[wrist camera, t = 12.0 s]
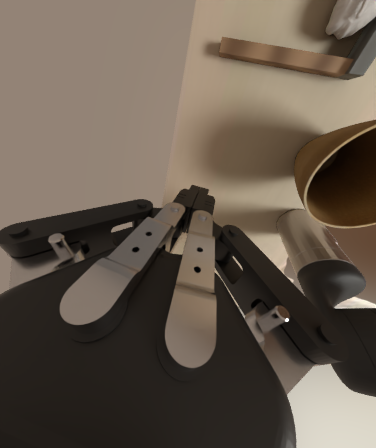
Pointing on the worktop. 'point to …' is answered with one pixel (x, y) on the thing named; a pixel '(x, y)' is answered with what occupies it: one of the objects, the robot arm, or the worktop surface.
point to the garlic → (350, 17)
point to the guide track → (307, 56)
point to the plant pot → (339, 176)
